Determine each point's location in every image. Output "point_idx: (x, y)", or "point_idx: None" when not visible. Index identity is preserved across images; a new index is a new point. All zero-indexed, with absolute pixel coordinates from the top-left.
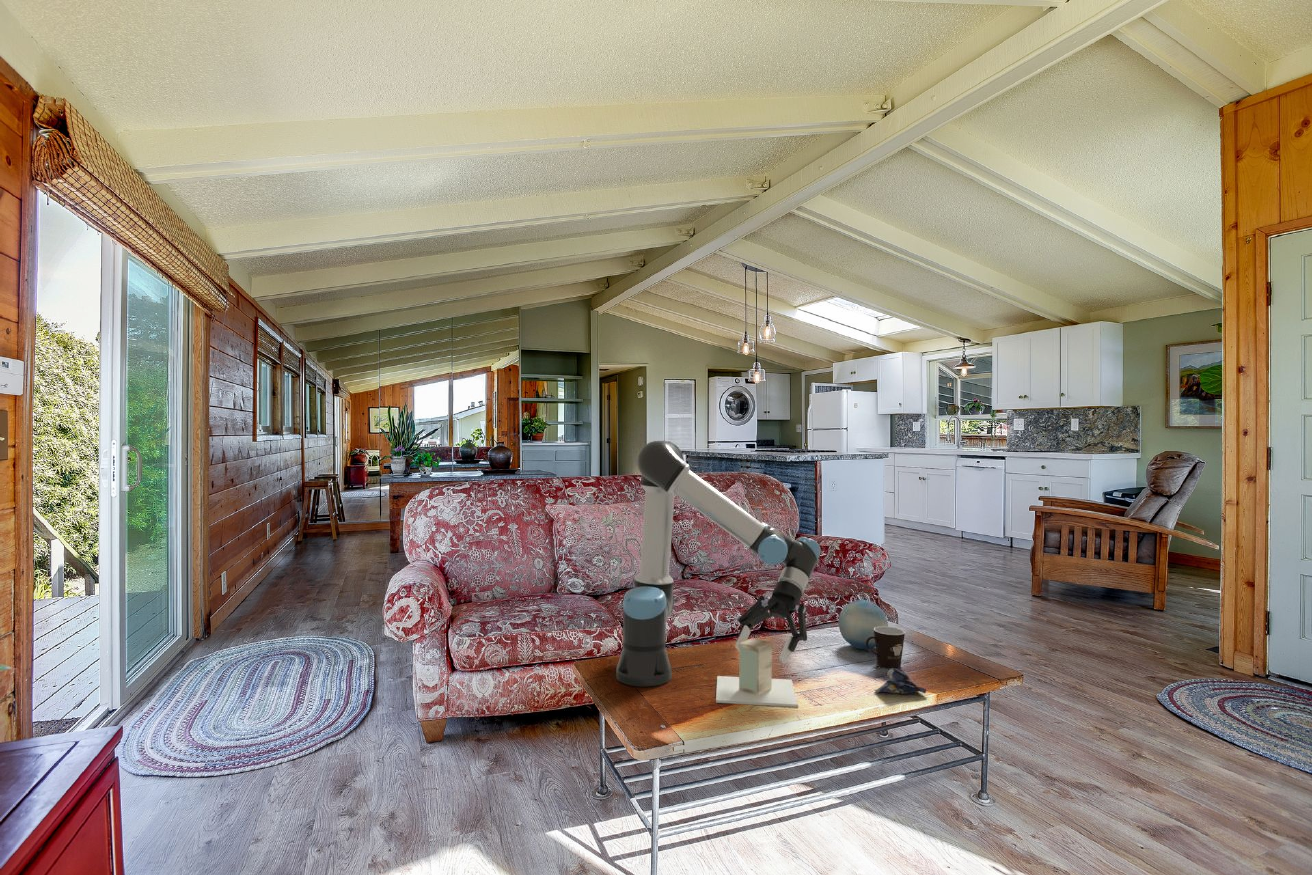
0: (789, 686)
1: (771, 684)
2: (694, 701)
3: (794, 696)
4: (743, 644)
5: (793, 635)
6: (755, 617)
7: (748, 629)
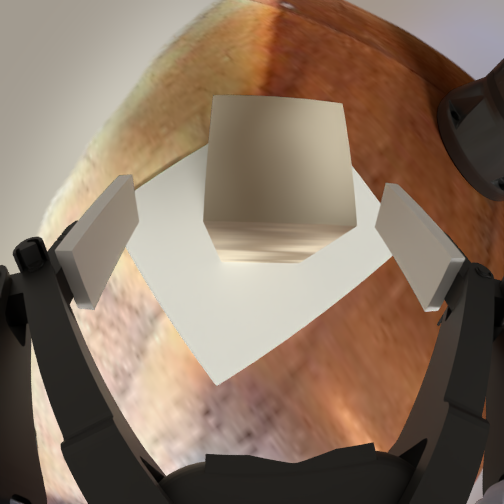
0: (188, 324)
1: (220, 259)
2: (330, 85)
3: (136, 257)
4: (316, 102)
5: (35, 241)
6: (465, 325)
7: (434, 280)
